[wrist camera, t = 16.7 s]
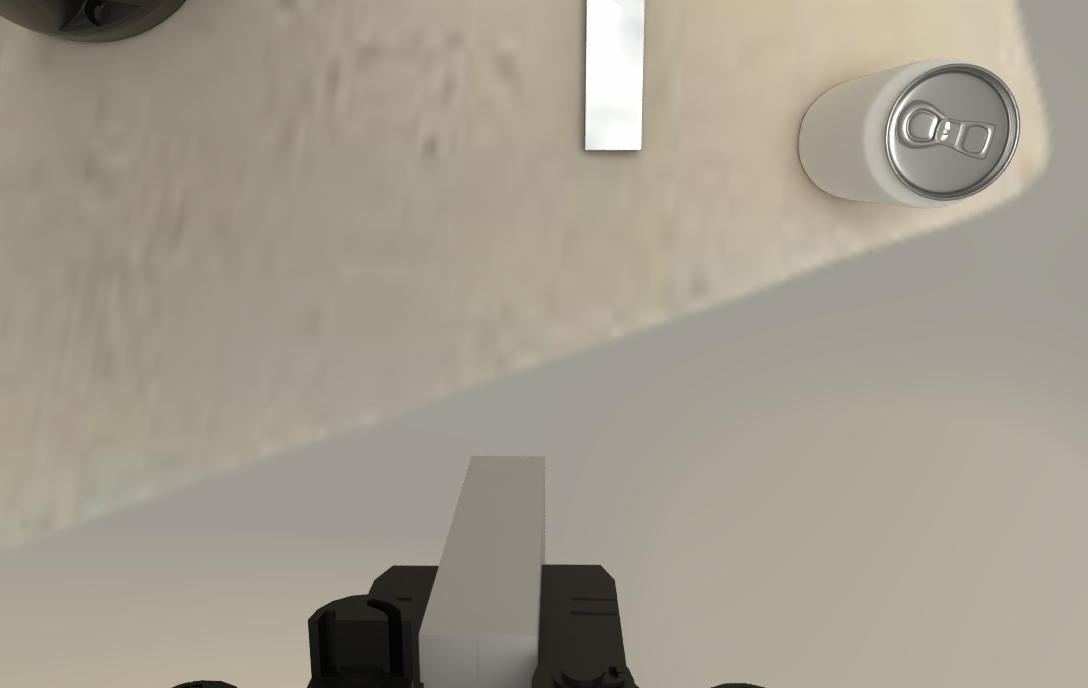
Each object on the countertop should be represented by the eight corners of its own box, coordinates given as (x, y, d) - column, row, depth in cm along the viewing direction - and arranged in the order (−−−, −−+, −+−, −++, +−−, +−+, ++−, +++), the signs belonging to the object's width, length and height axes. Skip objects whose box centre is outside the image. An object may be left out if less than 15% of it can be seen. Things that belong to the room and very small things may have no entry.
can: (815, 67, 46) (903, 35, 34) (928, 95, 46) (1054, 73, 34) (781, 184, 47) (855, 191, 36) (890, 211, 47) (999, 226, 36)
